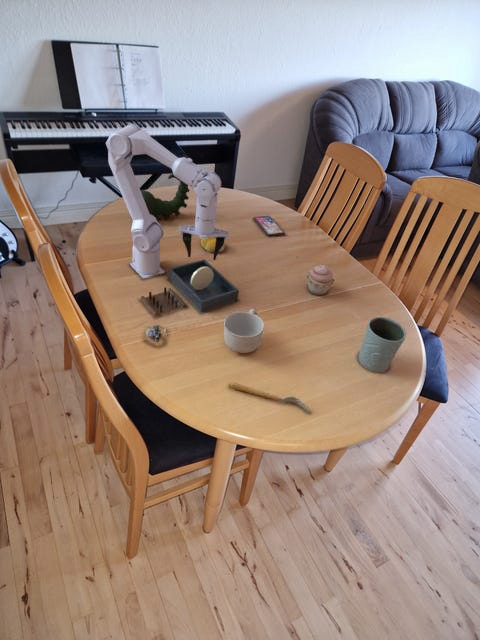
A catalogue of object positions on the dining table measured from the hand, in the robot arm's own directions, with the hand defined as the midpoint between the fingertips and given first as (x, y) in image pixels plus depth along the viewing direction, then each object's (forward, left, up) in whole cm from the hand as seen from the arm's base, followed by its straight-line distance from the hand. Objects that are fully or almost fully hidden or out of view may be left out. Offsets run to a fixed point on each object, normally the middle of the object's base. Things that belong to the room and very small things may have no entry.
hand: (202, 256), depth 134 cm
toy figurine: (-46, +9, -11) cm, 48 cm away
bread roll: (-18, +17, -11) cm, 27 cm away
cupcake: (+20, +34, -11) cm, 41 cm away
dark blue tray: (+3, -1, -10) cm, 11 cm away
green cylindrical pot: (+53, +24, -11) cm, 59 cm away
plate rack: (+4, -15, -10) cm, 19 cm away
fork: (+49, -10, -11) cm, 51 cm away
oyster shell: (+16, -24, -11) cm, 31 cm away
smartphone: (-22, +47, -10) cm, 53 cm away
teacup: (+29, -4, -11) cm, 31 cm away
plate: (+3, -1, -10) cm, 10 cm away
